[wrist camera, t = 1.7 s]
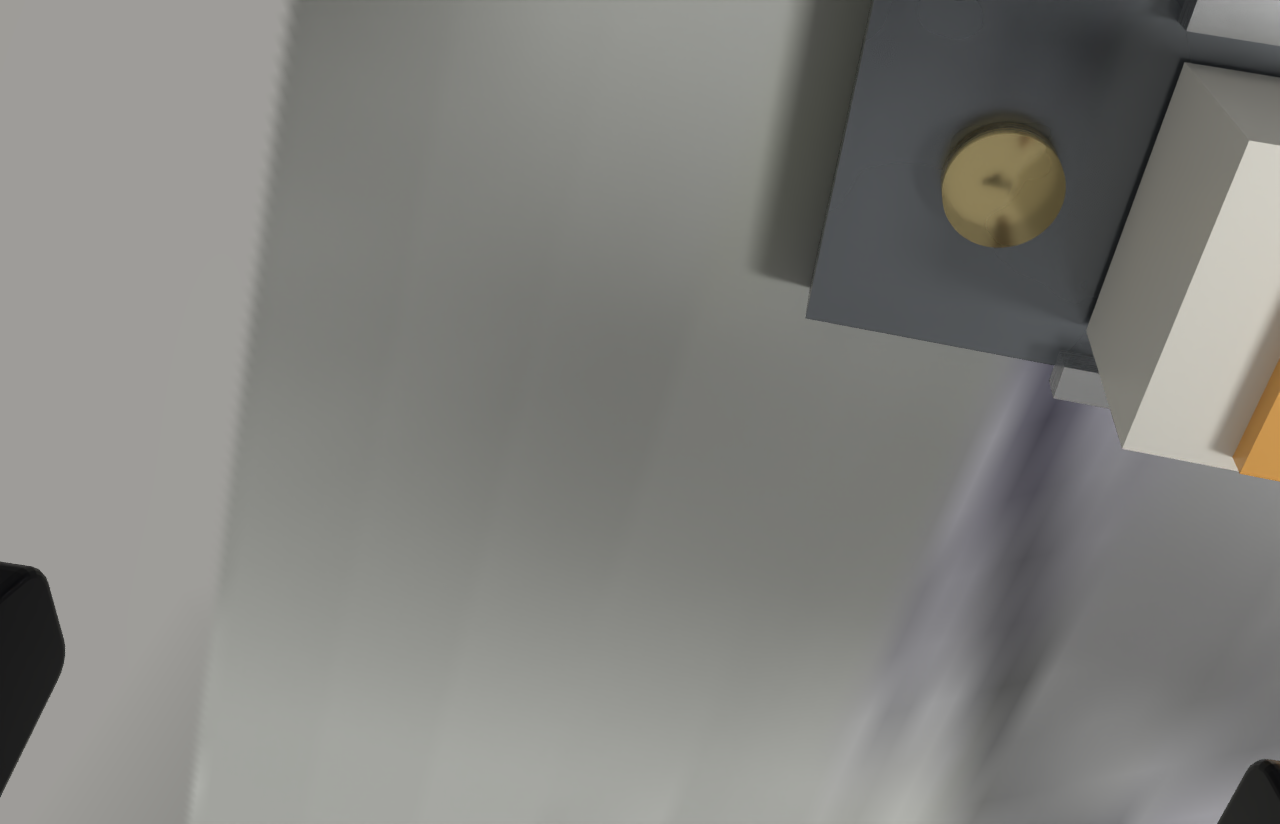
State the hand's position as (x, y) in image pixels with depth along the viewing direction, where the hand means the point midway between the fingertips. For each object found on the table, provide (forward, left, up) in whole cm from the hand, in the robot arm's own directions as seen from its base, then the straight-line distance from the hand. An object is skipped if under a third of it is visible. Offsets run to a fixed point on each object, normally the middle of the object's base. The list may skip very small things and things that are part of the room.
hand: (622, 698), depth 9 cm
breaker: (-8, 0, -12) cm, 14 cm away
